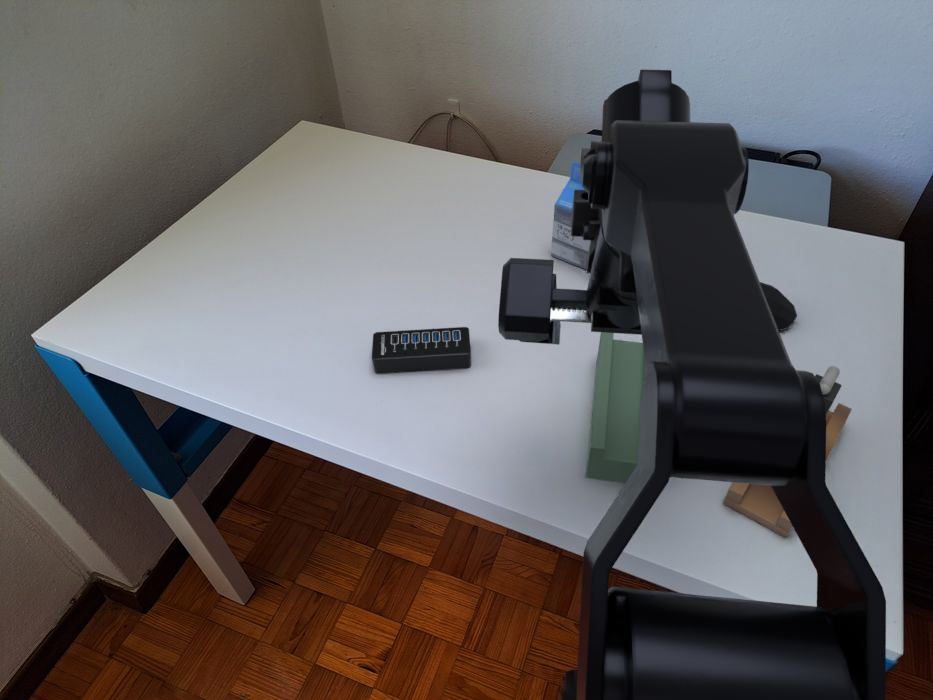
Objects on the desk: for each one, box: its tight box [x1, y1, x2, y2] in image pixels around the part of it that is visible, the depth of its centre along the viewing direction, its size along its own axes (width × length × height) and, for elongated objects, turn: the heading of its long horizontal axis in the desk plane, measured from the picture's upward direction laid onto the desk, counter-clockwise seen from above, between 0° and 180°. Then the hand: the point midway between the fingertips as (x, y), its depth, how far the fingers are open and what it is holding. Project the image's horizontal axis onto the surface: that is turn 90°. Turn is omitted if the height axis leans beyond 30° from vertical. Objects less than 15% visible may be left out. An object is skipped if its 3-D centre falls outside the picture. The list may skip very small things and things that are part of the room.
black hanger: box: [814, 365, 843, 414], centre depth 62 cm, size 8×2×11 cm, turn 142°
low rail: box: [722, 403, 853, 538], centre depth 66 cm, size 16×6×2 cm, turn 142°
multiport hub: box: [371, 326, 472, 374], centre depth 78 cm, size 4×11×2 cm, turn 93°
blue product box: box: [550, 160, 590, 271], centre depth 85 cm, size 9×4×12 cm, turn 54°
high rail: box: [585, 332, 646, 484], centre depth 70 cm, size 16×6×5 cm, turn 168°
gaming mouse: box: [759, 281, 798, 331], centre depth 80 cm, size 6×15×4 cm, turn 84°
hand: (609, 342), depth 60 cm, fingers open, 9 cm apart
